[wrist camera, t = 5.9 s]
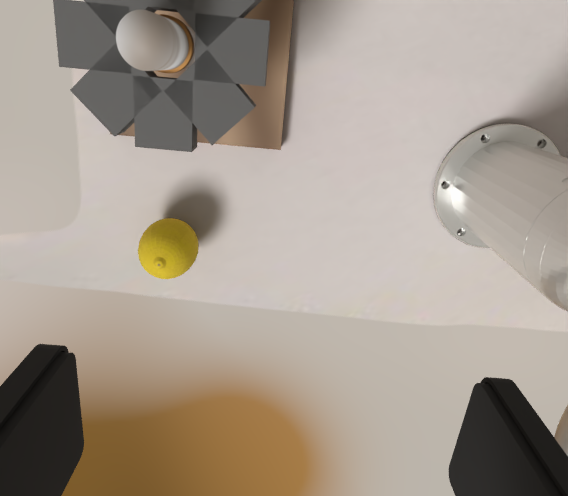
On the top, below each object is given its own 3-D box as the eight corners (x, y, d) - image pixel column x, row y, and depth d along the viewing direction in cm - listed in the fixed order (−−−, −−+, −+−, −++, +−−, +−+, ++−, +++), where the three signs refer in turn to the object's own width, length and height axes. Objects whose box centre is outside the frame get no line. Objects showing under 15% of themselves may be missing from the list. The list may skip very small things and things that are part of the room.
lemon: (148, 250, 48) (123, 284, 41) (156, 202, 46) (132, 229, 39) (198, 262, 49) (184, 298, 41) (208, 215, 47) (195, 244, 39)
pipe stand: (297, -43, 38) (308, -126, 21) (280, 147, 44) (279, 197, 28) (106, -64, 38) (-35, -166, 21) (116, 131, 44) (12, 174, 27)
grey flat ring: (276, -60, 28) (275, -69, 26) (260, 152, 32) (259, 157, 31) (61, -84, 27) (44, -95, 25) (78, 135, 32) (65, 140, 30)
